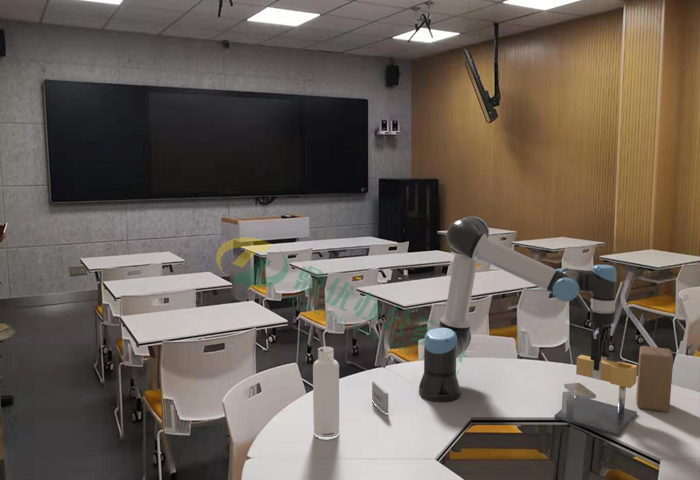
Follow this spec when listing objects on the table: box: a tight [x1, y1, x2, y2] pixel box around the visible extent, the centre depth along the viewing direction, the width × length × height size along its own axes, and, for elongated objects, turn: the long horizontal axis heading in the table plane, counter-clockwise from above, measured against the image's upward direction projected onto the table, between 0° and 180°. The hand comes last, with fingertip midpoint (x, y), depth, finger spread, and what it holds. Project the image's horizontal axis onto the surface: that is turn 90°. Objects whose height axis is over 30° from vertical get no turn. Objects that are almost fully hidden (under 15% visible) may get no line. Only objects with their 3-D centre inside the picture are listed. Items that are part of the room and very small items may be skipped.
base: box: [554, 385, 638, 438], centre depth 196 cm, size 20×21×11 cm
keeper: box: [561, 382, 597, 418], centre depth 195 cm, size 8×10×10 cm
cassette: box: [371, 381, 389, 414], centre depth 203 cm, size 12×2×8 cm, turn 21°
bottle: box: [312, 346, 340, 437], centre depth 183 cm, size 8×8×28 cm
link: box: [575, 354, 638, 389], centre depth 200 cm, size 18×6×6 cm, turn 49°
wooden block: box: [635, 345, 674, 413], centre depth 204 cm, size 10×10×20 cm
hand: (599, 376), depth 201 cm, fingers closed on link, 4 cm apart
